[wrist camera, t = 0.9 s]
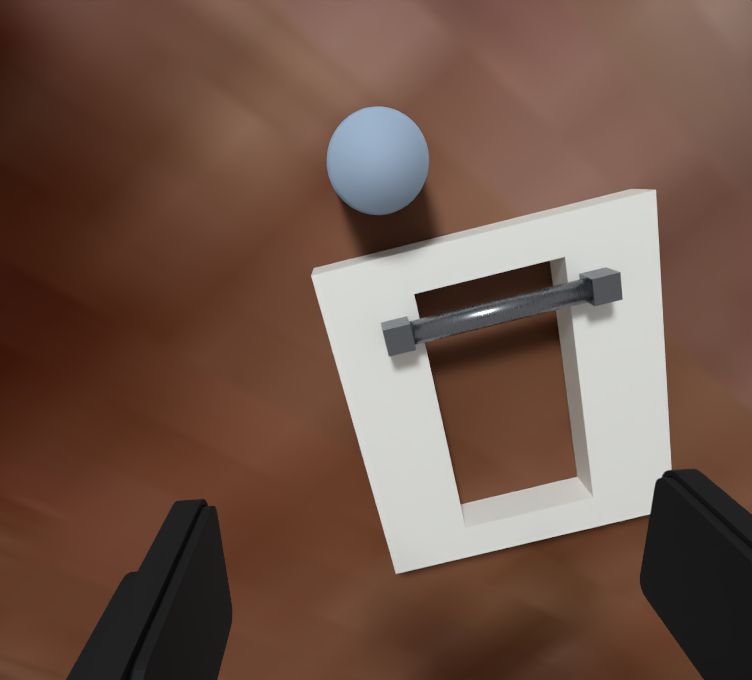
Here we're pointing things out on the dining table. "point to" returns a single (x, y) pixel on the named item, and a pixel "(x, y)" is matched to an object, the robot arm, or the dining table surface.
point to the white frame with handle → (580, 363)
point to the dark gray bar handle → (503, 310)
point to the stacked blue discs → (377, 160)
